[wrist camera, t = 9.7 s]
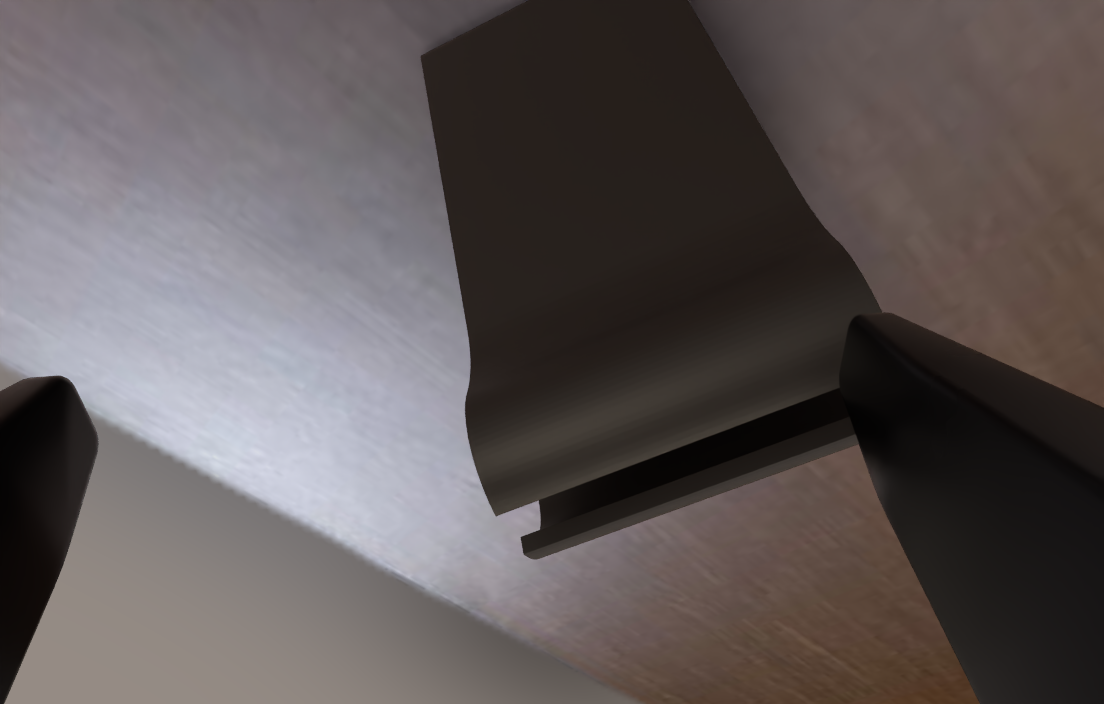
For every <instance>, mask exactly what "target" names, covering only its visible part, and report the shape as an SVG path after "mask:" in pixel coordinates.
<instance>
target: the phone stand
mask: <svg viewBox="0 0 1104 704" xmlns="http://www.w3.org/2000/svg"><path fill="white" fill-rule="evenodd" d="M421 62H422V67H423V73H424V79H425V85H426V91H427V97H428V102H429V108H430V114H431V120H432V126H433V132H434V138H435V143H436V149H437V155H438V161H439V167H440V173H441V178H442V184H443V190H444V196H445V202H446V208H447V213H448V219H449V225H450V231H451V237H452V243H453V249H454V254H455V260H456V266H457V272H458V278H459V284H460V289H461V295H462V301H463V307H464V313H465V319H466V324H467V330H468V337H469V345H470V358H471V371H470V382H469V388H468V392H467V396H466V402H465V417H466V427H467V433H468V439H469V444H470V448H471V452H472V456H473V460H474V463H475V466H476V469H477V473H478V475H479V478H480V481H481V484H482V486H483V489H484V491H485V494H486V496H487V499H488V501H489V503H490V505H491V507H492V509H493V511H494V513H495V515H496V516H498V515H500V514H503V513H506V512H508V511H511V510H514V509H516V508H519V507H522V506H524V505H527V504H530V503H532V502H535V501H538V500H539V505H540V514H541V526H540V530H539V531H536V532H533V533H530V534H528V535H525V536H522V537H521V542H522V548H523V553H524V555H525V556H527V557H529V558H531V559H540V558H542V557H545V556H548V555H551V554H553V553H556V552H559V551H562V550H565V549H567V548H570V547H573V546H576V545H579V544H581V543H584V542H587V541H590V540H593V539H595V538H598V537H601V536H604V535H607V534H609V533H612V532H615V531H618V530H620V529H623V528H626V527H629V526H632V525H634V524H637V523H640V522H643V521H646V520H648V519H651V518H654V517H657V516H660V515H662V514H665V513H668V512H671V511H673V510H676V509H679V508H682V507H685V506H687V505H690V504H693V503H696V502H699V501H701V500H704V499H707V498H710V497H713V496H715V495H718V494H721V493H724V492H726V491H729V490H732V489H735V488H738V487H740V486H743V485H746V484H749V483H752V482H754V481H757V480H760V479H763V478H766V477H768V476H771V475H774V474H777V473H779V472H782V471H785V470H788V469H791V468H793V467H796V466H799V465H802V464H805V463H807V462H810V461H813V460H816V459H819V458H821V457H824V456H827V455H830V454H833V453H835V452H838V451H841V450H844V449H846V448H849V447H852V446H855V445H858V444H859V443H858V440H857V437H856V434H855V431H854V429H853V426H852V423H851V420H850V417H849V414H848V412H847V409H846V406H845V403H844V400H843V397H842V395H841V391H840V386H839V372H840V366H841V361H842V356H843V351H844V346H845V340H846V335H847V330H848V326H849V324H850V322H851V320H852V319H853V318H854V317H855V316H856V315H860V314H871V313H882V311H881V309H880V307H879V305H878V303H877V301H876V299H875V297H874V295H873V293H872V291H871V289H870V288H869V286H868V284H867V282H866V280H865V279H864V277H863V275H862V273H861V272H860V270H859V268H858V267H857V265H856V264H855V262H854V261H853V259H852V258H851V256H850V255H849V254H848V252H847V251H846V250H845V248H844V247H843V246H842V245H841V244H840V243H839V242H838V241H837V240H836V239H835V238H834V237H833V236H832V235H831V234H830V233H829V232H828V231H827V230H826V229H825V228H824V226H823V225H822V224H821V223H820V221H819V220H818V219H817V217H816V216H815V214H814V213H813V212H812V210H811V209H810V207H809V206H808V204H807V203H806V201H805V199H804V198H803V196H802V195H801V193H800V191H799V190H798V188H797V186H796V185H795V183H794V181H793V179H792V178H791V176H790V174H789V173H788V171H787V169H786V167H785V166H784V164H783V162H782V161H781V159H780V157H779V156H778V154H777V152H776V150H775V149H774V147H773V145H772V144H771V142H770V140H769V138H768V137H767V135H766V133H765V132H764V130H763V128H762V127H761V125H760V123H759V121H758V120H757V118H756V116H755V115H754V113H753V111H752V109H751V108H750V106H749V104H748V103H747V101H746V99H745V98H744V96H743V94H742V92H741V91H740V89H739V87H738V86H737V84H736V82H735V80H734V79H733V77H732V75H731V74H730V72H729V70H728V69H727V67H726V65H725V63H724V62H723V60H722V58H721V57H720V55H719V53H718V51H717V50H716V48H715V46H714V45H713V43H712V41H711V40H710V38H709V36H708V34H707V33H706V31H705V29H704V28H703V26H702V24H701V22H700V21H699V19H698V17H697V16H696V14H695V12H694V11H693V9H692V7H691V5H690V4H689V2H688V0H529V1H527V2H525V3H523V4H521V5H519V6H517V7H515V8H513V9H511V10H509V11H507V12H505V13H503V14H501V15H499V16H497V17H495V18H493V19H492V20H490V21H488V22H486V23H484V24H482V25H480V26H478V27H476V28H474V29H472V30H470V31H468V32H466V33H464V34H462V35H460V36H458V37H456V38H454V39H453V40H451V41H449V42H447V43H445V44H443V45H441V46H439V47H437V48H435V49H433V50H431V51H429V52H427V53H425V54H423V55H421Z"/></svg>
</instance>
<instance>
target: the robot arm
mask: <svg viewBox="0 0 1104 704" xmlns="http://www.w3.org/2000/svg"><path fill="white" fill-rule="evenodd" d="M839 386H840V391H841V395H842V397H843V400H844V403H845V406H846V409H847V412H848V414H849V417H850V420H851V423H852V426H853V429H854V431H855V434H856V437H857V440H858V443H859V446H860V448H861V451H862V454H863V457H864V460H865V463H866V465H867V468H868V471H869V474H870V477H871V480H872V482H873V485H874V487H875V490H876V493H877V495H878V498H879V500H880V502H881V504H882V507H883V509H884V511H885V513H886V515H887V517H888V519H889V521H890V523H891V525H892V527H893V529H894V531H895V533H896V535H897V537H898V539H899V541H900V543H901V545H902V547H903V550H904V552H905V554H906V556H907V558H908V560H909V562H910V564H911V566H912V568H913V570H914V572H915V574H916V576H917V578H918V580H919V582H920V584H921V586H922V588H923V590H924V592H925V594H926V596H927V598H928V600H929V602H930V604H931V606H932V608H933V610H934V612H935V614H936V616H937V618H938V620H939V622H940V624H941V626H942V628H943V630H944V632H945V634H946V636H947V638H948V640H949V642H950V644H951V646H952V648H953V650H954V652H955V654H956V656H957V658H958V660H959V662H960V664H961V666H962V668H963V670H964V672H965V674H966V676H967V678H968V680H969V682H970V684H971V686H972V688H973V690H974V692H975V694H976V697H977V699H978V701H979V703H980V704H1104V408H1103V407H1101V406H1099V405H1096V404H1094V403H1092V402H1090V401H1087V400H1085V399H1083V398H1081V397H1078V396H1076V395H1074V394H1072V393H1069V392H1067V391H1065V390H1063V389H1061V388H1058V387H1056V386H1054V385H1052V384H1049V383H1047V382H1045V381H1043V380H1040V379H1038V378H1036V377H1034V376H1031V375H1029V374H1027V373H1025V372H1022V371H1020V370H1018V369H1016V368H1013V367H1011V366H1009V365H1007V364H1004V363H1002V362H1000V361H998V360H995V359H993V358H991V357H989V356H986V355H984V354H982V353H980V352H977V351H975V350H973V349H971V348H968V347H966V346H964V345H962V344H959V343H957V342H955V341H953V340H951V339H948V338H946V337H944V336H942V335H939V334H937V333H935V332H933V331H930V330H928V329H926V328H924V327H921V326H919V325H917V324H915V323H912V322H910V321H908V320H906V319H903V318H901V317H899V316H897V315H894V314H892V313H886V312H883V313H871V314H860V315H856V316H855V317H854V318H853V319H852V320H851V322H850V324H849V326H848V330H847V335H846V340H845V346H844V351H843V356H842V361H841V366H840V372H839ZM97 452H98V436H97V432H96V429H95V427H94V425H93V423H92V421H91V419H90V417H89V415H88V413H87V411H86V409H85V406H84V404H83V402H82V400H81V398H80V396H79V394H78V392H77V390H76V388H75V386H74V385H73V383H72V382H71V381H70V380H69V379H67V378H65V377H63V376H46V377H32V378H27V379H23V380H21V381H19V382H17V383H15V384H13V385H11V386H9V387H7V388H6V389H4V390H2V391H0V704H4V703H5V700H6V698H7V696H8V694H9V691H10V689H11V687H12V684H13V682H14V680H15V677H16V675H17V673H18V670H19V668H20V666H21V663H22V661H23V659H24V656H25V654H26V652H27V649H28V647H29V645H30V642H31V640H32V638H33V635H34V633H35V631H36V629H37V626H38V624H39V622H40V619H41V617H42V615H43V612H44V610H45V607H46V605H47V603H48V601H49V598H50V596H51V594H52V591H53V589H54V587H55V584H56V582H57V579H58V577H59V574H60V571H61V569H62V566H63V564H64V561H65V558H66V555H67V552H68V549H69V545H70V542H71V539H72V536H73V532H74V529H75V526H76V522H77V519H78V515H79V512H80V509H81V506H82V502H83V499H84V496H85V492H86V489H87V486H88V483H89V479H90V475H91V473H92V469H93V466H94V463H95V459H96V456H97Z"/></svg>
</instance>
